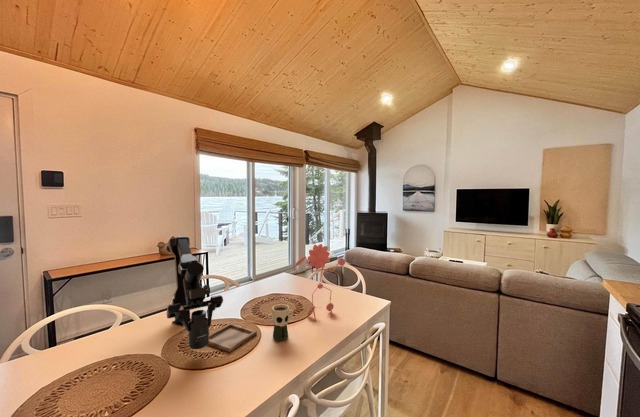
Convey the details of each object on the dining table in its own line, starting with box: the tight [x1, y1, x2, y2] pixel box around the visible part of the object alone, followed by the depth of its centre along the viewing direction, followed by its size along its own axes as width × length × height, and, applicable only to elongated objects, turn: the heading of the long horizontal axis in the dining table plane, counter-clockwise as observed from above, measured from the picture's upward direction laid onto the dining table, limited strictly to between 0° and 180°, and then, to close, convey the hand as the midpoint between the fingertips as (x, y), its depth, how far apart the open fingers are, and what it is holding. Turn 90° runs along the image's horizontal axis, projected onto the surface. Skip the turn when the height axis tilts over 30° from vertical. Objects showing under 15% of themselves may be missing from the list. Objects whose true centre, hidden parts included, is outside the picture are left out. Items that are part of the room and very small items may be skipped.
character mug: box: [267, 304, 294, 342], centre depth 114 cm, size 11×7×13 cm, turn 118°
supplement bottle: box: [187, 309, 210, 350], centre depth 100 cm, size 7×7×12 cm
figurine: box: [294, 243, 346, 321], centre depth 139 cm, size 15×26×35 cm, turn 116°
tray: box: [208, 322, 257, 353], centre depth 114 cm, size 15×15×2 cm
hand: (199, 328), depth 99 cm, fingers closed on supplement bottle, 7 cm apart
